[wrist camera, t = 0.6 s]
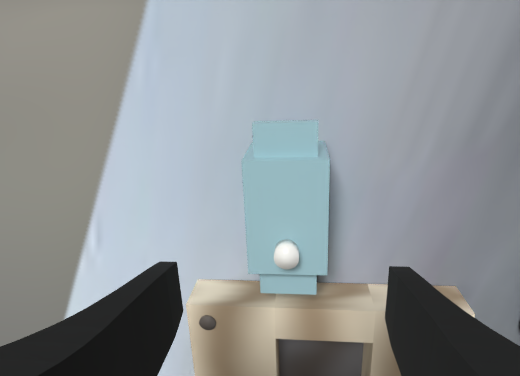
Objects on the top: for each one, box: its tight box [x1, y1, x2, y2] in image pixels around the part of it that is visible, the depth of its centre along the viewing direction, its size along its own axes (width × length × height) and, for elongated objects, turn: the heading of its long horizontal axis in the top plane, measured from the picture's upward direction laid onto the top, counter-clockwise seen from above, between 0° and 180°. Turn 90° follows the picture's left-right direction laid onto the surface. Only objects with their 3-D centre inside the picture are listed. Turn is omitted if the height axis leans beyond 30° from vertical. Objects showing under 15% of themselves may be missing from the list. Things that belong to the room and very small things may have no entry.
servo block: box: [242, 120, 330, 295], centre depth 19 cm, size 4×9×5 cm, turn 2°
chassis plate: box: [186, 279, 475, 376], centre depth 24 cm, size 16×12×3 cm
